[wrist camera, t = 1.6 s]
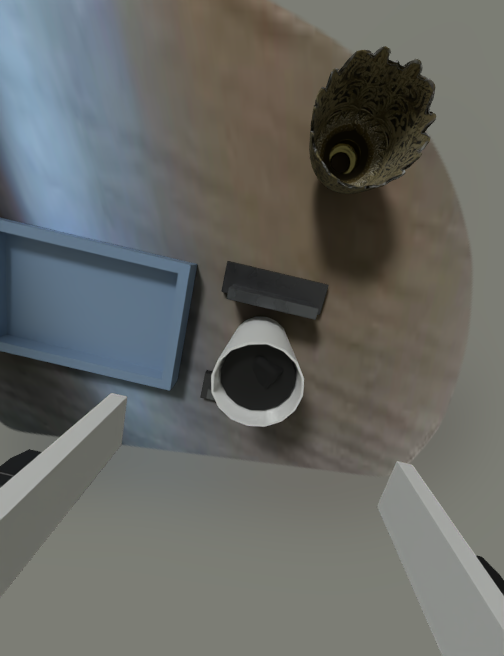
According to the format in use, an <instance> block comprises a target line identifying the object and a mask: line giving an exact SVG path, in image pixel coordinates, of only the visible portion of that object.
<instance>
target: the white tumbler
mask: <svg viewBox="0 0 504 656" xmlns="http://www.w3.org/2000/svg"><path fill="white" fill-rule="evenodd" d="M303 388H304V377H303V375H302V372H301V370H300V367H299V364H298V362H297V359H296V357H295V355H294V352H293V350H292V347H291V345H290V343H289V340H288V338H287V335H286V333H285V331H284V328H283V327H282V326H281V325H280V324H279V323H278V322H277V321H275V320H273V319H271V318H268V317H257V316H255V317H253V318H250V319H248V320H245V321H244V322H243V323H242V324H241V325H240V326H239V327H238V328H237V330H236V331H235V333H234V335H233V336H232V338H231V340H230V341H229V343H228V344H227V346H226V348H225V349H224V351H223V352H222V354H221V356H220V357H219V359H218V361H217V363H216V365H215V368H214V370H213V373H212V375H211V391H212V395H213V397H214V399H215V401H216V403H217V405H218V407H219V408H220V409H221V410H222V411H223V412H224V413H225V414H226V415H227V416H228V417H229V418H230V419H232V420H234V421H237V422H239V423H242V424H244V425H247V426H262V427H266V426H269V425H272V424H275V423H278V422H281V421H283V420H284V419H285V418H287V417H288V416H289V415H290V414H292V413H293V412H294V411H295V410H296V408H297V406H298V404H299V402H300V401H301V399H302V397H303Z"/></svg>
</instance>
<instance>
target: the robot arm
mask: <svg viewBox="0 0 504 656" xmlns="http://www.w3.org/2000/svg"><path fill="white" fill-rule="evenodd" d="M126 403H127V397H126V396H122V395H118V394H114V393H111V394H110V395H109V396H107V397H106V398H105V399H104V400H103V401H102V402H100V403H99V404H98V405H97V406H96V407H95V408H93V409H92V410H91V411H90V412H89V413H87V414H86V415H85V416H84V417H83V418H82V419H80V420H79V421H78V422H77V423H76V424H75V425H73V426H72V427H71V428H70V429H69V430H68V431H66V432H65V433H64V434H63V435H62V436H61V437H59V438H58V439H57V440H56V441H55V442H53V443H52V444H51V445H50V446H49V447H48V448H46V449H45V450H44V451H43V452H38V451H34V450H30V449H29V450H27V451H25V452H23V453H21V454H19V455H17V456H14V457H12V458H10V459H9V460H8V461H6V462H5V463H4V464H3V465H1V466H0V598H1V596H2V595H3V594H4V593H5V591H6V590H7V589H8V587H9V586H10V585H11V584H12V582H13V581H14V580H15V579H16V577H17V576H18V575H19V574H20V572H21V571H22V570H23V568H24V567H25V566H26V565H27V563H28V562H29V561H30V560H31V558H32V557H33V556H34V555H35V553H36V552H37V551H38V550H39V548H40V547H41V546H42V545H43V543H44V542H45V541H46V540H47V538H48V537H49V536H50V534H51V533H52V532H53V531H54V529H55V528H56V527H57V525H58V524H59V523H60V522H61V521H62V519H63V518H64V517H65V516H66V514H67V513H68V512H69V510H70V509H71V508H72V507H73V505H74V504H75V503H76V502H77V500H78V499H79V498H80V497H81V495H82V494H83V493H84V491H85V490H86V489H87V488H88V487H89V485H90V484H91V483H92V481H93V480H94V479H95V478H96V476H97V475H98V474H99V473H100V471H101V470H102V469H103V468H104V466H105V465H106V464H107V462H108V461H109V460H110V459H111V457H112V456H113V455H114V454H115V452H116V451H117V450H118V449H119V447H120V446H121V444H122V435H123V427H124V419H125V411H126ZM377 507H378V510H379V512H380V514H381V517H382V519H383V521H384V523H385V525H386V528H387V530H388V532H389V535H390V537H391V539H392V542H393V544H394V546H395V549H396V551H397V553H398V555H399V558H400V560H401V562H402V565H403V567H404V569H405V572H406V574H407V576H408V578H409V581H410V583H411V585H412V587H413V590H414V592H415V595H416V597H417V599H418V601H419V604H420V606H421V608H422V611H423V613H424V615H425V618H426V620H427V622H428V624H429V627H430V629H431V631H432V634H433V636H434V638H435V640H436V642H437V645H438V647H439V650H440V652H441V654H442V656H504V580H503V579H502V578H501V576H500V575H499V574H498V573H497V572H496V571H495V570H494V569H493V568H492V567H491V566H490V565H489V564H488V562H487V561H485V560H484V558H482V557H480V556H476V555H475V554H474V552H473V551H472V550H471V548H470V547H469V545H468V544H467V543H466V541H465V539H464V538H463V537H462V535H461V534H460V532H459V531H458V529H457V528H456V527H455V525H454V524H453V522H452V521H451V519H450V518H449V517H448V515H447V514H446V512H445V511H444V509H443V508H442V506H441V505H440V504H439V502H438V501H437V499H436V498H435V496H434V495H433V493H432V492H431V491H430V489H429V488H428V486H427V485H426V483H425V482H424V481H423V479H422V478H421V476H420V475H419V473H418V472H417V470H416V469H415V468H414V466H413V465H411V464H407V463H403V462H398V461H397V462H396V464H395V467H394V469H393V471H392V473H391V476H390V478H389V480H388V482H387V485H386V487H385V489H384V492H383V494H382V496H381V498H380V501H379V503H378V506H377Z"/></svg>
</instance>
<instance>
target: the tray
mask: <svg viewBox="0 0 504 656" xmlns="http://www.w3.org/2000/svg"><path fill="white" fill-rule="evenodd" d="M196 269H197V264H195V263H190V262H186V261H182V260H178V259H174V258H169V257H165V256H161V255H157V254H152V253H148V252H144V251H140V250H135V249H131V248H127V247H123V246H119V245H114V244H110V243H106V242H102V241H97V240H93V239H89V238H85V237H81V236H76V235H72V234H68V233H64V232H59V231H55V230H51V229H47V228H43V227H38V226H34V225H30V224H26V223H21V222H17V221H13V220H9V219H5V218H0V351H2V352H7V353H11V354H15V355H20V356H24V357H28V358H32V359H37V360H41V361H45V362H50V363H54V364H58V365H62V366H67V367H71V368H75V369H79V370H84V371H88V372H92V373H97V374H101V375H105V376H109V377H114V378H118V379H122V380H127V381H131V382H135V383H139V384H144V385H148V386H152V387H156V388H161V389H165V390H169V391H170V390H171V388H172V387H173V386H174V384H175V383H176V382H177V380H178V375H179V369H180V363H181V357H182V351H183V346H184V340H185V334H186V328H187V322H188V316H189V310H190V305H191V299H192V293H193V287H194V281H195V275H196Z"/></svg>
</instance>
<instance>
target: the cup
mask: <svg viewBox="0 0 504 656" xmlns="http://www.w3.org/2000/svg"><path fill="white" fill-rule="evenodd" d="M389 53H391V50H390V49H389V48H387V47H386V46H385V47H382V48H380V49H378V50H377V51H376V52H375V53H374V54H373V53H371V51H369V50H360V51H357V52H355V53H354V54H353V55H352V56H351V57H350V58H349V59H348V60H347V61H346V63H345V64H344V66H343V67H342V68H341V69H340V70H339V72H338V69H336V68H335V69H333V71H332V72H331V74H330V77H329V80H328V83H327V86H326V88H324V87H322V88H321V89H320V91H319V93H318V95H317V98H316V101H315V105H314V109H313V114H312V121H311V132H310V146H309V150H310V160H311V164H312V168H313V170H314V172H315V174H316V176H317V178H318V179H319V180H320V182H321V183H322V184H323V185H324V186H326V187H327V188H329V189H331V190H333V191H335V192H339V193H344V194H352V193H359V192H363V191H367V190H370V189H373V188H376V187H381V186H384V185H386V184H388V183H389V182H391V181H392V180H395V179H397V178H399V177H401V176H403V175H404V174H405V169H407V168H409V167H410V166H411V165H412V164H413V163H414V162H415V161H416V160H418V159H419V158H420V156H421V155H422V153H421V152H420V151H422V150H423V149H424V148H425V147H426V145H427V144H428V143H429V141H430V136H429V135H428V134H427V133H425V131H426V130H427V128H428V127H429V126H430V125H431V124H432V123H433V122H434V121H435V120H436V114H435V113H433V112H430V113H431V114H429V110H430V109H429V108H430V105H431V103H432V101H433V98H434V93H435V84H434V83H433V82H432V81H431V80H430V79H428V78H427V77H424V76H422V75H420V73H421V71H422V64H421V61H420V60H418V59H414V60H412V61H410V62H408V63H407V64H406V65H407V66H406V65H405V67H403V66H401V65H400V64H399V61H398V60H396V61H391V60H389ZM409 63H410V64H409ZM408 64H409V65H408ZM338 153H344V154H346V155H347V156H348V158H349V167H348V169H347V170H346V171H345V172H343V173H338V172H336V171H335V170H334V169H333V168H332V166H331V160H332V158H333V157H334V156H335V155H336V154H338Z"/></svg>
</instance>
